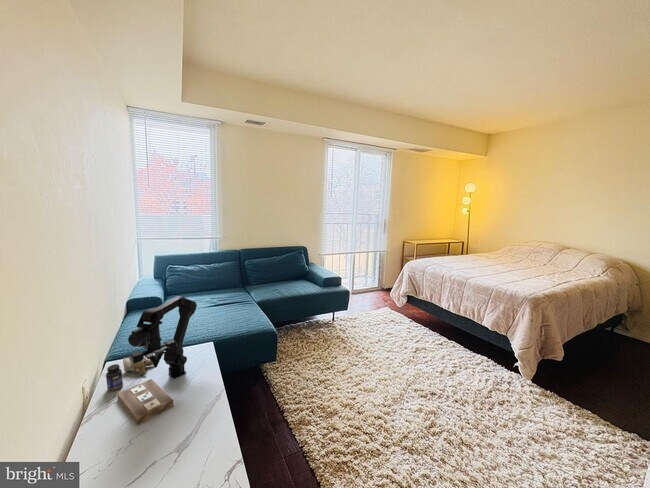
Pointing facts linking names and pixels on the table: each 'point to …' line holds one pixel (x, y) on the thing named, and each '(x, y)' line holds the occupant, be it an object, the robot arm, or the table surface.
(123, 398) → the board
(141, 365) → the ceramic sculpture
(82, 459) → the table surface
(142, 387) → the two pip button
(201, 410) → the table surface
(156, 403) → the one pip button
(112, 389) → the pill bottle
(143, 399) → the three pip button
